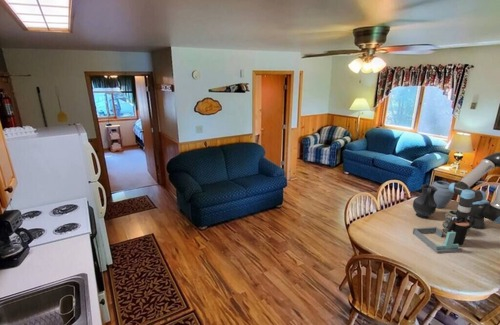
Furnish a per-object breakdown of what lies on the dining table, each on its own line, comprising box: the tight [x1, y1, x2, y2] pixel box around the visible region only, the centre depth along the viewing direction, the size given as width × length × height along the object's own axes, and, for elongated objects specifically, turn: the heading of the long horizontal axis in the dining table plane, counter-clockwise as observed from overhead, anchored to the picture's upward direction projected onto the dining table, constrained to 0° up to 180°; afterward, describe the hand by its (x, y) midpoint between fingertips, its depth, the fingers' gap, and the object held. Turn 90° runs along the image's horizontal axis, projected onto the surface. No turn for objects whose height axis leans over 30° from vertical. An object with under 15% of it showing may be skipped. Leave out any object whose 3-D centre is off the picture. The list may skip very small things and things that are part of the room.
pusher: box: [436, 232, 460, 250], centre depth 192 cm, size 16×2×15 cm, turn 96°
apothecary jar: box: [441, 209, 457, 235], centre depth 213 cm, size 12×12×18 cm
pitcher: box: [412, 184, 438, 220], centre depth 234 cm, size 17×21×30 cm
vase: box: [430, 180, 455, 209], centre depth 254 cm, size 20×20×24 cm
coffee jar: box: [453, 220, 469, 247], centre depth 200 cm, size 11×11×18 cm
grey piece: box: [412, 226, 463, 254], centre depth 203 cm, size 19×25×4 cm
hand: (456, 236), depth 201 cm, fingers closed on coffee jar, 11 cm apart
